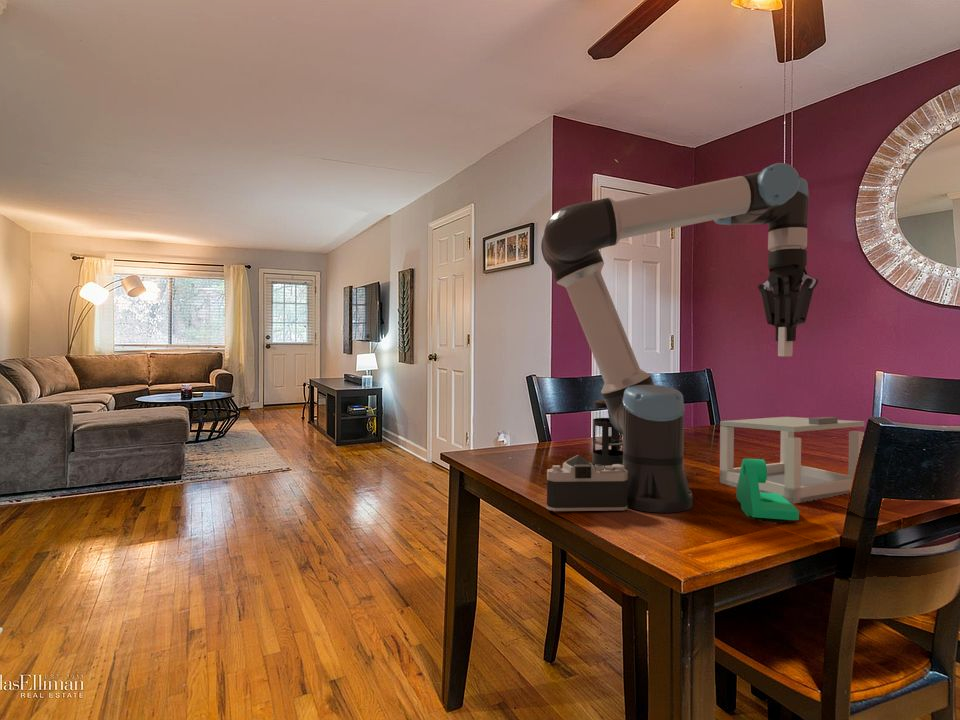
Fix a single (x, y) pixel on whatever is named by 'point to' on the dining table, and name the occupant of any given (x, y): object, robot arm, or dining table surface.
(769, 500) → the camera mount
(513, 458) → the dining table surface
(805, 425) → the lid
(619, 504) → the camera
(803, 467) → the frame
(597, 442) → the french press
